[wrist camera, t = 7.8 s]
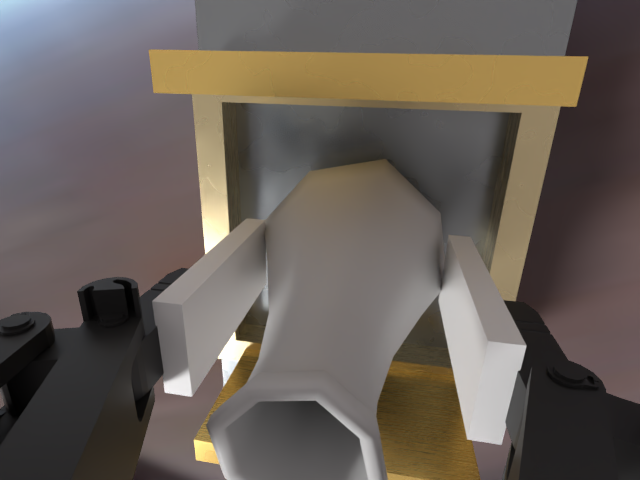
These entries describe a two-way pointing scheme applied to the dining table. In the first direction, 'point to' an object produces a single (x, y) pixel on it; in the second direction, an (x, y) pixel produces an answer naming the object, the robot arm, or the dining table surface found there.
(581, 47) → the dining table surface
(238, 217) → the grey and yellow box
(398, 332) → the flask
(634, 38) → the dining table surface
